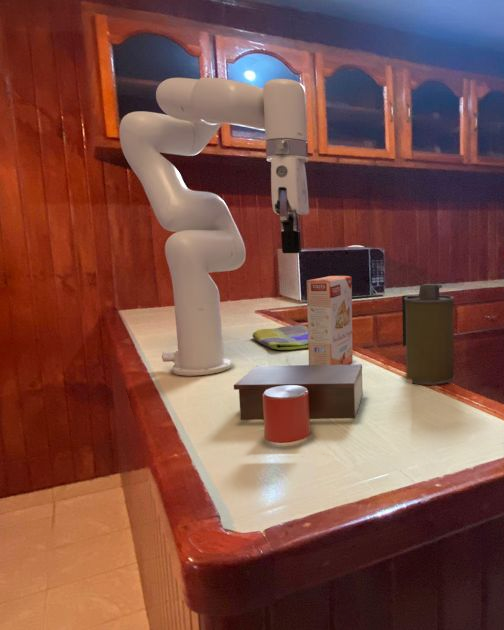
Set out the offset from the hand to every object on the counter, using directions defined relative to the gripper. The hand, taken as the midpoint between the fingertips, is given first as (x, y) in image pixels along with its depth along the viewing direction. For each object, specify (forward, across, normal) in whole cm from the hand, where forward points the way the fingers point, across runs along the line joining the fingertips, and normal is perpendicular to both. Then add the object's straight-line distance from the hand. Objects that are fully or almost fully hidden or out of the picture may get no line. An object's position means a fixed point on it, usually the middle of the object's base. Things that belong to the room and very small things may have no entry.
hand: (291, 252), depth 100 cm
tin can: (+27, -25, -4) cm, 37 cm away
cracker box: (+27, +18, -4) cm, 33 cm away
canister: (+27, +8, -26) cm, 38 cm away
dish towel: (+27, +49, +13) cm, 58 cm away
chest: (+27, -12, -4) cm, 30 cm away
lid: (+21, -12, -4) cm, 25 cm away
